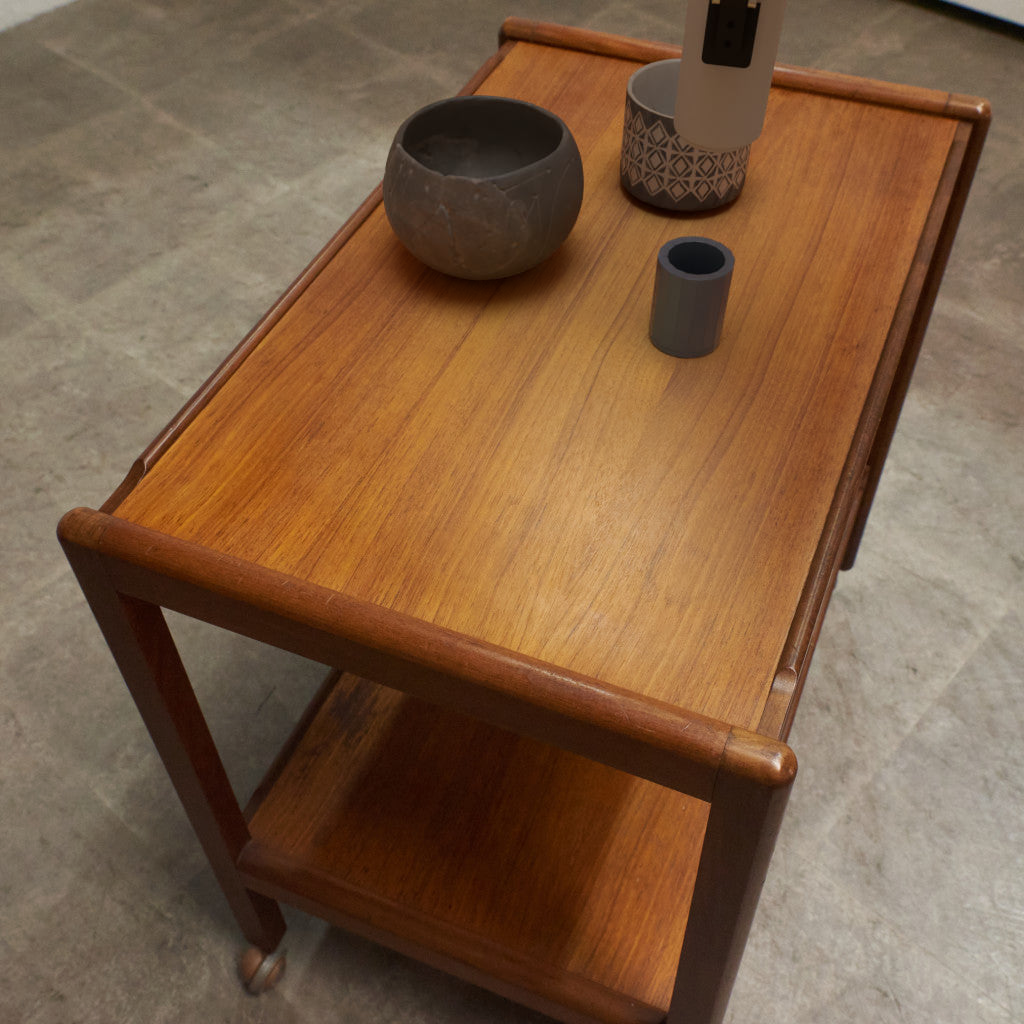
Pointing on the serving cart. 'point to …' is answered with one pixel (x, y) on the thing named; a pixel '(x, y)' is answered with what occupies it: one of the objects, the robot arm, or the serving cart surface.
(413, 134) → the bowl
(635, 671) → the serving cart surface
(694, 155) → the planter
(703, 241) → the cup
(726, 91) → the beverage can
